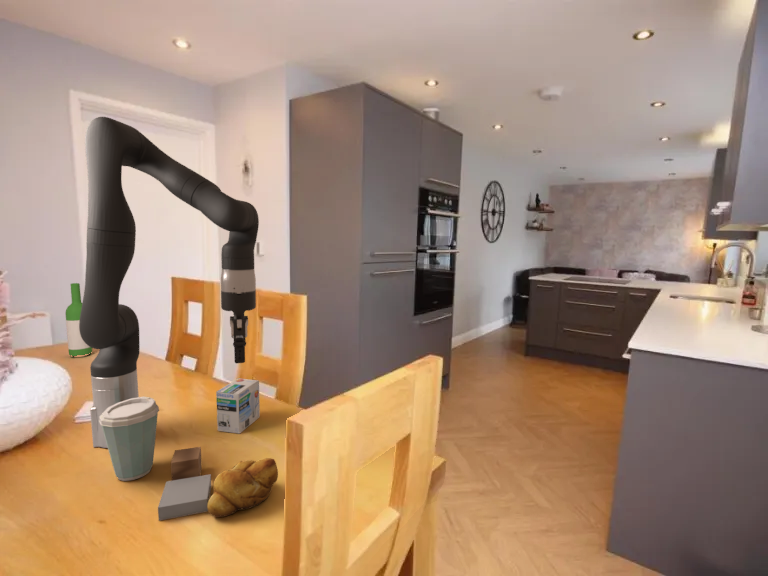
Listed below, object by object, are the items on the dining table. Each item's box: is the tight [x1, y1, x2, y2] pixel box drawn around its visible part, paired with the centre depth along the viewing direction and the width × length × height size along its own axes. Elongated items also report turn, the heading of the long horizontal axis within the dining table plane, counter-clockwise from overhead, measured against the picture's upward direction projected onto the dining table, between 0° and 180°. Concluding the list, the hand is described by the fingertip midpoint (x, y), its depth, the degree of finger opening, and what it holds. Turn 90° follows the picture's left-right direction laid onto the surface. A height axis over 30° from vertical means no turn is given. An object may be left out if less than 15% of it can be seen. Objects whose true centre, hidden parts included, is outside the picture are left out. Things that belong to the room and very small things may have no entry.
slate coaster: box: [157, 474, 212, 521], centre depth 76 cm, size 8×8×2 cm
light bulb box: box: [215, 378, 261, 434], centre depth 107 cm, size 11×7×11 cm, turn 168°
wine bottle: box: [65, 282, 93, 356], centre depth 163 cm, size 8×8×30 cm
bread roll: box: [207, 457, 279, 518], centre depth 76 cm, size 13×10×8 cm
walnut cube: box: [170, 446, 203, 481], centre depth 84 cm, size 5×5×5 cm
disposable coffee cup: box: [99, 396, 160, 482], centre depth 84 cm, size 11×11×15 cm
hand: (239, 357), depth 94 cm, fingers open, 8 cm apart
